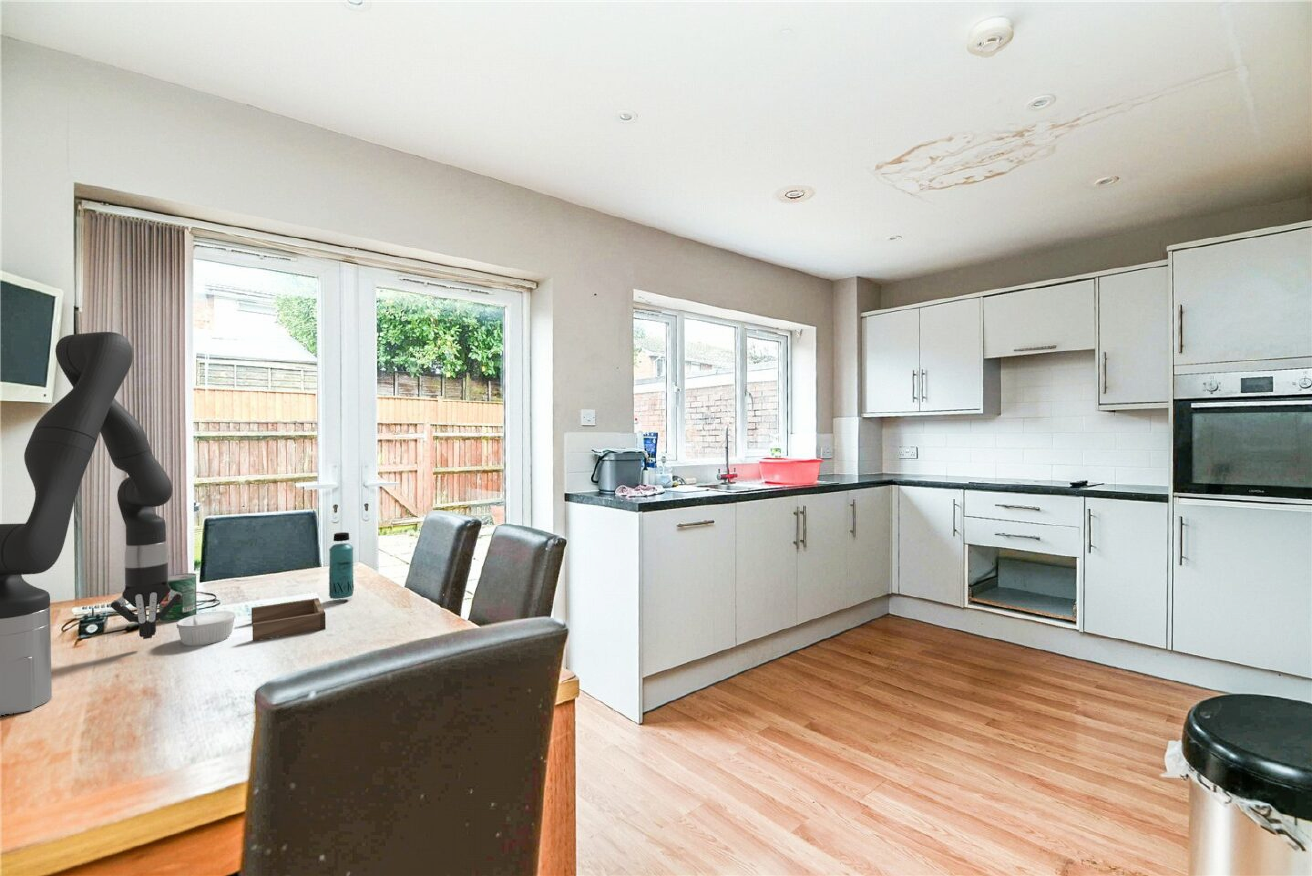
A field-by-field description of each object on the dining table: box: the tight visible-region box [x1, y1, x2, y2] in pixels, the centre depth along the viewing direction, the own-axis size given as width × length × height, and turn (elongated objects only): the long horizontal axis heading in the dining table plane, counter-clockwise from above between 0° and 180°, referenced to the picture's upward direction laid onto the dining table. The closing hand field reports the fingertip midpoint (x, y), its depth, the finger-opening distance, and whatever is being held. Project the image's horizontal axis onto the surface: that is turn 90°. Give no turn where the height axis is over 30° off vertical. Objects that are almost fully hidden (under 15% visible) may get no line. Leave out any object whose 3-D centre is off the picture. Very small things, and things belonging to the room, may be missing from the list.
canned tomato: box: [158, 572, 198, 623], centre depth 160 cm, size 8×8×11 cm
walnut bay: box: [250, 597, 327, 642], centre depth 153 cm, size 16×15×4 cm
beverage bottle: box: [328, 532, 355, 600], centre depth 175 cm, size 6×7×20 cm
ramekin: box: [176, 610, 236, 647], centre depth 143 cm, size 11×11×5 cm
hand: (147, 637), depth 137 cm, fingers closed
